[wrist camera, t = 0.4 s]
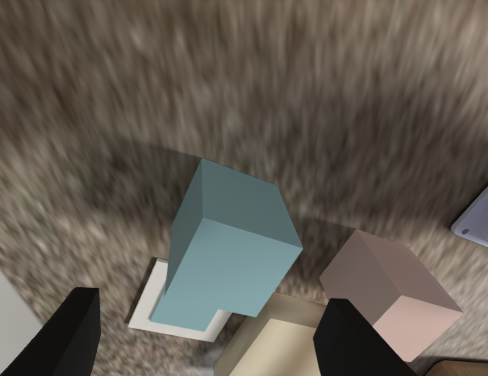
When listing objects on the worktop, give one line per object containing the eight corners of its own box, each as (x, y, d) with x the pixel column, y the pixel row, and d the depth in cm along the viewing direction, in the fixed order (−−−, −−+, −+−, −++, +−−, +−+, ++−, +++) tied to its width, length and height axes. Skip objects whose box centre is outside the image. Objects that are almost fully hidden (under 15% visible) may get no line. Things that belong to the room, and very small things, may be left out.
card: (249, 281, 24) (250, 286, 24) (213, 339, 27) (213, 344, 26) (157, 257, 22) (156, 263, 21) (128, 323, 25) (127, 329, 24)
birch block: (363, 311, 28) (380, 342, 26) (305, 375, 32) (314, 408, 30) (263, 285, 25) (270, 318, 22) (213, 360, 29) (214, 395, 27)
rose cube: (408, 246, 24) (464, 313, 19) (369, 291, 26) (410, 362, 21) (355, 228, 23) (401, 295, 18) (318, 277, 25) (350, 349, 20)
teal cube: (276, 185, 20) (303, 248, 15) (242, 243, 22) (255, 317, 17) (201, 157, 19) (203, 217, 13) (172, 223, 21) (163, 297, 16)
